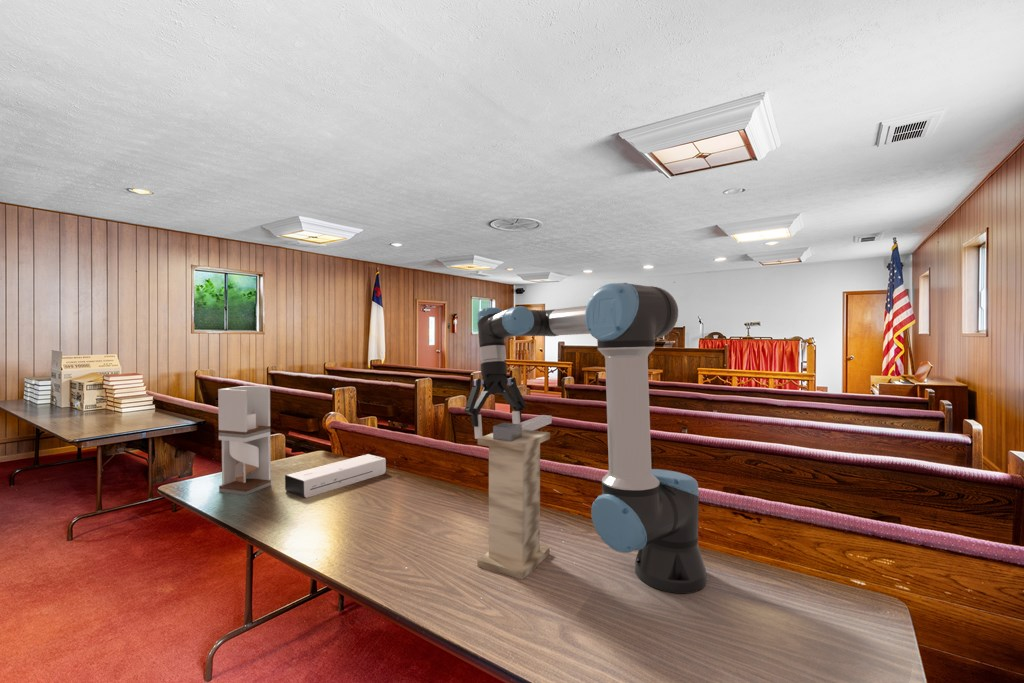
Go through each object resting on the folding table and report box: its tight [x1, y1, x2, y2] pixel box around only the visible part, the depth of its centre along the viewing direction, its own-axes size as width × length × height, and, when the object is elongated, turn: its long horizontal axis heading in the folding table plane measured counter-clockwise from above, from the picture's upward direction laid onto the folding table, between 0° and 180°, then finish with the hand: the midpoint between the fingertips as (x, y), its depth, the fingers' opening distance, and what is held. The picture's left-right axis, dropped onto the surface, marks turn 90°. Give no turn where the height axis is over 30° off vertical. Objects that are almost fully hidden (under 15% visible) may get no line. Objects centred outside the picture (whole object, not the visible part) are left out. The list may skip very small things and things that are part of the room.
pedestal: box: [477, 430, 551, 580], centre depth 111 cm, size 14×12×30 cm
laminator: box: [284, 453, 387, 499], centre depth 170 cm, size 34×12×6 cm, turn 145°
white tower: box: [217, 385, 272, 496], centre depth 162 cm, size 11×11×35 cm
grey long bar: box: [492, 414, 553, 442], centre depth 116 cm, size 24×5×3 cm, turn 151°
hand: (498, 436), depth 132 cm, fingers open, 13 cm apart
